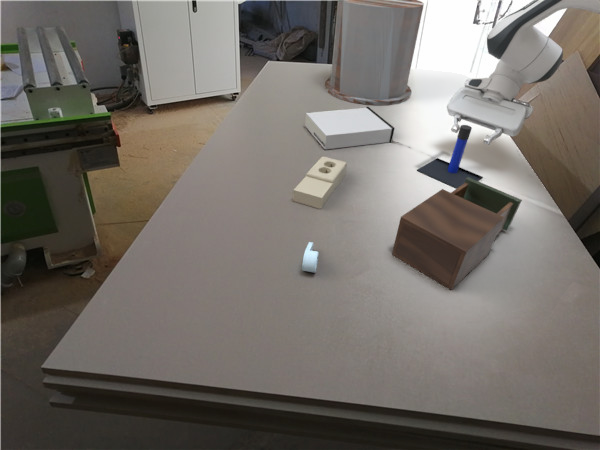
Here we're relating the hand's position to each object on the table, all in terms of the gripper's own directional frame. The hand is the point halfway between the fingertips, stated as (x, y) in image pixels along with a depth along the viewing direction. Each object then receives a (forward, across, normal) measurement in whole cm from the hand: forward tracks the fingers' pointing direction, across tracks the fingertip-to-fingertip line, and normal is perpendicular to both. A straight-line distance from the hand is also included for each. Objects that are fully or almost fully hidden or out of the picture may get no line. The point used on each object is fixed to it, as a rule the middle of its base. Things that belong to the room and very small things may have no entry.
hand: (469, 137), depth 109 cm
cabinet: (+34, -16, +21) cm, 43 cm away
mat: (+10, 0, -3) cm, 10 cm away
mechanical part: (+50, 0, +36) cm, 61 cm away
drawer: (+24, -16, +12) cm, 31 cm away
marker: (+10, 0, -3) cm, 10 cm away
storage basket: (-16, +58, -29) cm, 67 cm away
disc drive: (+13, +35, -1) cm, 37 cm away
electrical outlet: (+34, +18, +21) cm, 44 cm away
